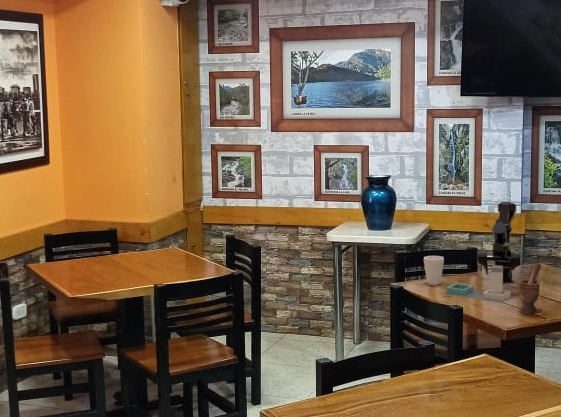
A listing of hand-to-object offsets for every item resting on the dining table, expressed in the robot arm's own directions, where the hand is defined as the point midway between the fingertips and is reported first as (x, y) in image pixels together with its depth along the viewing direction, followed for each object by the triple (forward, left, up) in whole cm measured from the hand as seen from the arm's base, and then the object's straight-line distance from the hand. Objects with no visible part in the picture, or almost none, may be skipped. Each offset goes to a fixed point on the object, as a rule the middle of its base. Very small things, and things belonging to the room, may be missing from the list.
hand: (497, 275), depth 361 cm
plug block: (+1, +2, -10) cm, 10 cm away
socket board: (+7, -5, -11) cm, 14 cm away
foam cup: (+16, -33, -11) cm, 38 cm away
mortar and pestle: (-3, +23, -11) cm, 26 cm away
